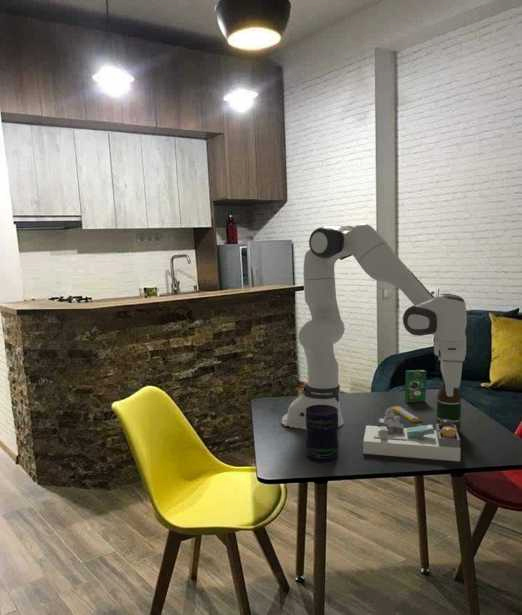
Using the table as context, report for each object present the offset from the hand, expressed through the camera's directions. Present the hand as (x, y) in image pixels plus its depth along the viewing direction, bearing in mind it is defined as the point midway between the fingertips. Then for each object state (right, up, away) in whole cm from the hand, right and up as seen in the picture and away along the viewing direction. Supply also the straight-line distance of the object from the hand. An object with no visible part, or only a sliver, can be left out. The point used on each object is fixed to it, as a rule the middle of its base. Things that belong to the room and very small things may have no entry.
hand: (449, 394), depth 149 cm
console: (-9, -19, +8) cm, 22 cm away
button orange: (0, -13, +1) cm, 13 cm away
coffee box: (+7, -13, +55) cm, 57 cm away
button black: (+2, -12, +8) cm, 15 cm away
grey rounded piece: (-10, -17, +27) cm, 34 cm away
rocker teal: (-6, -13, +7) cm, 16 cm away
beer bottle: (+8, -17, +22) cm, 29 cm away
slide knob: (-18, -14, +7) cm, 24 cm away
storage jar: (-37, -20, +4) cm, 43 cm away
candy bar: (-1, -15, +39) cm, 42 cm away
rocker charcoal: (-14, -12, +12) cm, 22 cm away
